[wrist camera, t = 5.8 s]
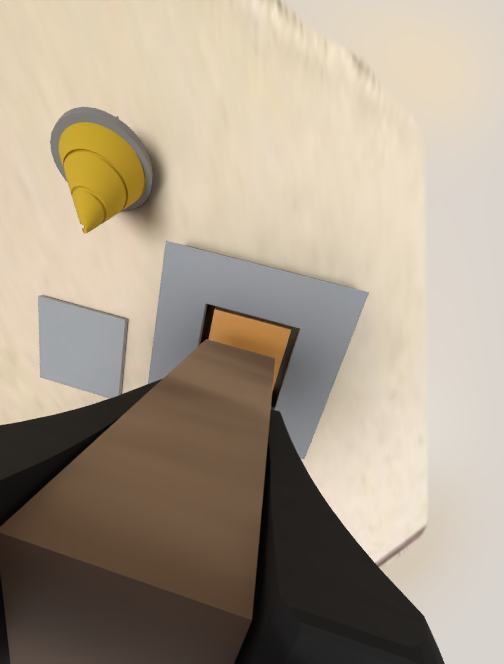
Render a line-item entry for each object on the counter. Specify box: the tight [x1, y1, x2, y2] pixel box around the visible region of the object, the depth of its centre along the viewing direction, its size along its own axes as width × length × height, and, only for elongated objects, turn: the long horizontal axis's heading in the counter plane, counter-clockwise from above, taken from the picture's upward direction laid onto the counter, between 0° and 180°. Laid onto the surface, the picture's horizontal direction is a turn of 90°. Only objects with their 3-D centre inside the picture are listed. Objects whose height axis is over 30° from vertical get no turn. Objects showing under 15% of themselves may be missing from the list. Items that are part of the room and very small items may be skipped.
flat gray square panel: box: [38, 295, 128, 398], centre depth 21 cm, size 8×8×1 cm
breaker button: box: [208, 307, 291, 392], centre depth 17 cm, size 6×6×1 cm
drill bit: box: [50, 107, 153, 233], centre depth 14 cm, size 5×5×10 cm
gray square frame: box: [148, 241, 369, 459], centre depth 18 cm, size 13×13×3 cm
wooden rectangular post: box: [0, 339, 275, 664], centre depth 9 cm, size 4×4×10 cm
